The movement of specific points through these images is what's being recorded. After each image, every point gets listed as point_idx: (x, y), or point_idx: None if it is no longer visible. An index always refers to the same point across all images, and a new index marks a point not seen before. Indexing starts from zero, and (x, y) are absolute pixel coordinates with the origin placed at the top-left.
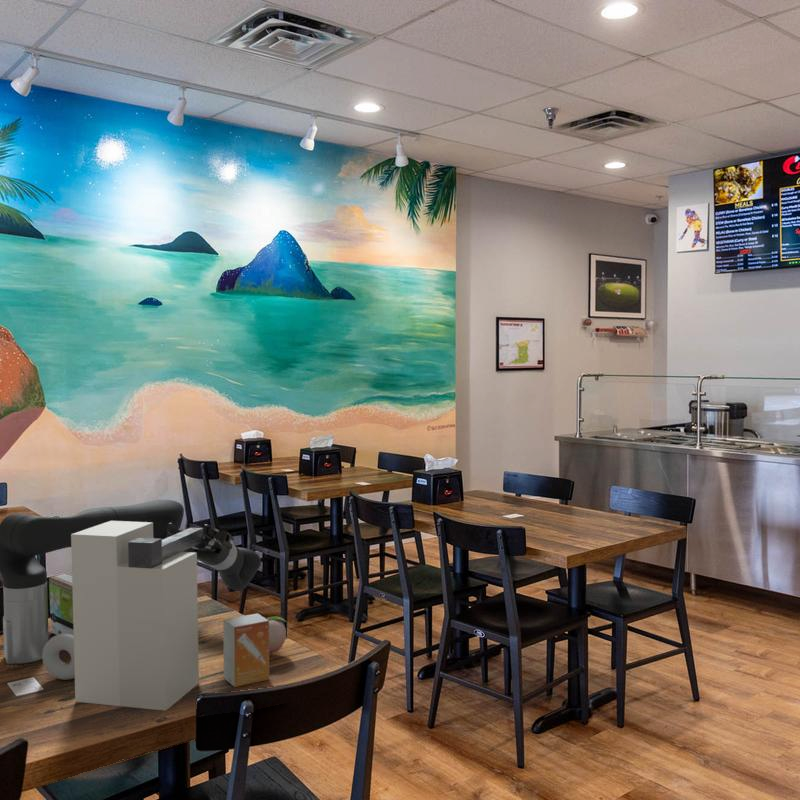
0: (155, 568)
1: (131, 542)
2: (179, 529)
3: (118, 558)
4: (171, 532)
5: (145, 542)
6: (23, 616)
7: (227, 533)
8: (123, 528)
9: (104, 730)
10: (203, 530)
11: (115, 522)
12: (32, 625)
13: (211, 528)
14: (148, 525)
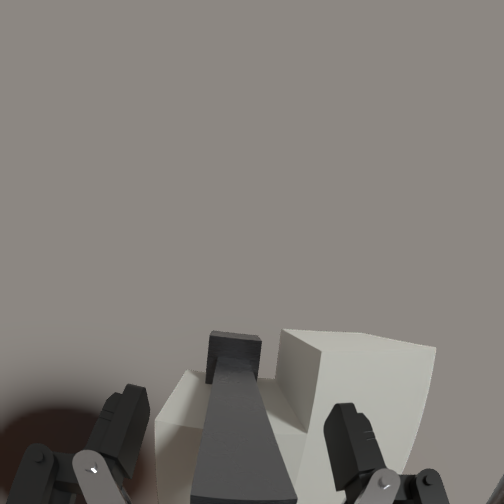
0: (202, 372)
1: (251, 335)
2: (365, 488)
3: (277, 368)
4: (327, 440)
5: (225, 332)
6: (500, 480)
7: (25, 464)
8: (326, 338)
9: None
10: (146, 403)
11: (406, 346)
12: (493, 498)
13: (109, 402)
14: (312, 350)
